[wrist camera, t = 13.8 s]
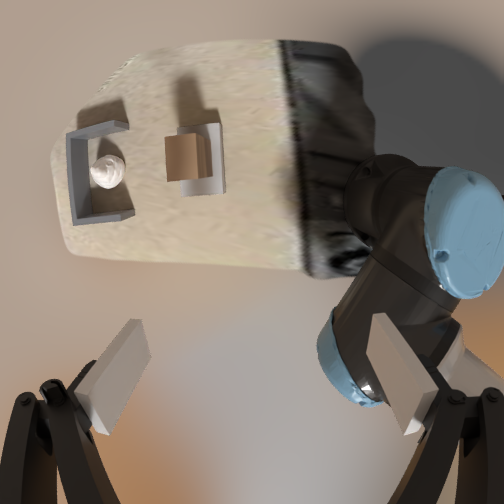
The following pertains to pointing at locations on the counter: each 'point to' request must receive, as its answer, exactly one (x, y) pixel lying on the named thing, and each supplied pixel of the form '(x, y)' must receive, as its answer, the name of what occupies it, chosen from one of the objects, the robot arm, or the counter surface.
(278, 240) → the counter surface
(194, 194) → the white-trimmed wooden block
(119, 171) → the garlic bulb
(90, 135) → the box
